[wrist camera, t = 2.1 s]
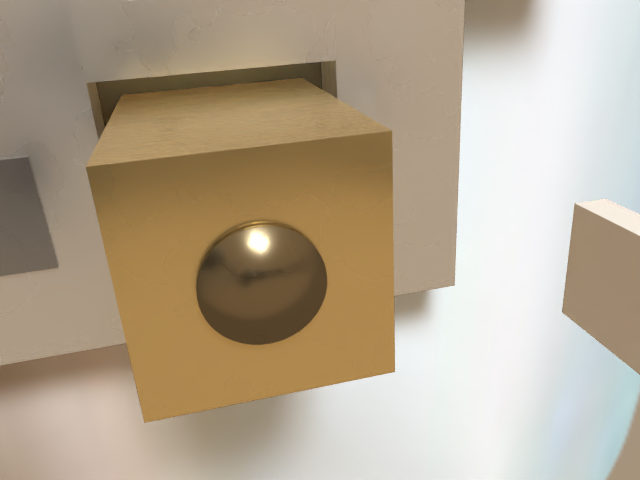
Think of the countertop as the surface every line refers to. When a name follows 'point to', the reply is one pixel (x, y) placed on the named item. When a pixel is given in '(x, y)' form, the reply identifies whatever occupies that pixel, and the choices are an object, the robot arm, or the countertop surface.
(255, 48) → the beige panel with cutout
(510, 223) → the countertop surface
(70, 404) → the countertop surface
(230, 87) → the cube with dome knob
